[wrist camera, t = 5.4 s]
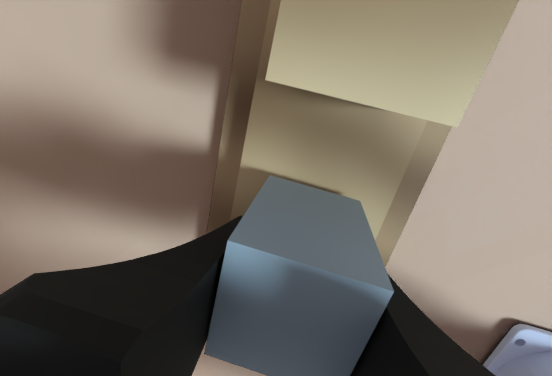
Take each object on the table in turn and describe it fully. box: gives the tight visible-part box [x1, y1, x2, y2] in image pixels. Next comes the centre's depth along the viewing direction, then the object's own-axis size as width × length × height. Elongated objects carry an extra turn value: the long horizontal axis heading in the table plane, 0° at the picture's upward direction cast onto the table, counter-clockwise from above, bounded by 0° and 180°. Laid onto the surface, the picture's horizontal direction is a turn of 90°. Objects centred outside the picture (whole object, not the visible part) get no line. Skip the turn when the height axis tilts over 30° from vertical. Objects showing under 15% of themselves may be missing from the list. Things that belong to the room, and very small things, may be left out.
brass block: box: [265, 0, 519, 128], centre depth 7 cm, size 4×4×6 cm
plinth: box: [206, 0, 452, 266], centre depth 12 cm, size 19×10×2 cm, turn 167°
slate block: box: [204, 175, 394, 376], centre depth 9 cm, size 4×4×6 cm
